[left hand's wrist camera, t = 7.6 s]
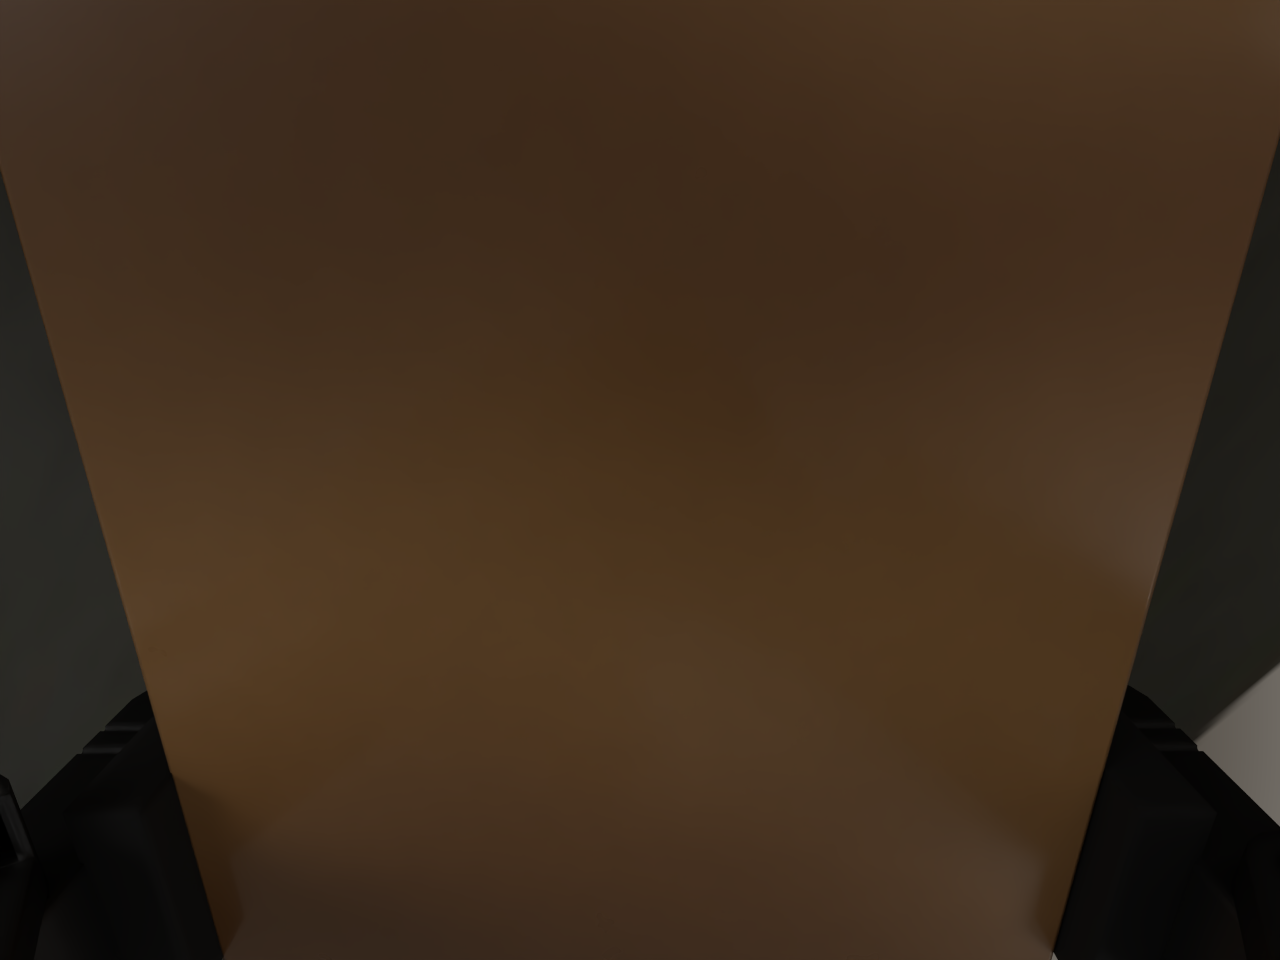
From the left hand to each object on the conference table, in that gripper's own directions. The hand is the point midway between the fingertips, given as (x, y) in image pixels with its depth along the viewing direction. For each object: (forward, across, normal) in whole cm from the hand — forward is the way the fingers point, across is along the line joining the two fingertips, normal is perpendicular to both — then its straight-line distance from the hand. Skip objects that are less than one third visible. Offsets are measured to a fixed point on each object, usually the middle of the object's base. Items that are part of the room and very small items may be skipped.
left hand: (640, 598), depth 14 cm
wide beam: (+1, 0, -34) cm, 34 cm away
